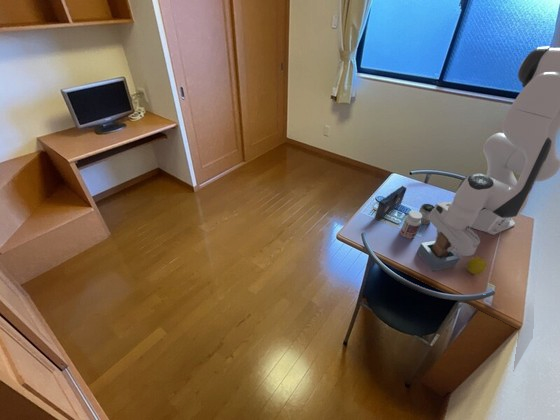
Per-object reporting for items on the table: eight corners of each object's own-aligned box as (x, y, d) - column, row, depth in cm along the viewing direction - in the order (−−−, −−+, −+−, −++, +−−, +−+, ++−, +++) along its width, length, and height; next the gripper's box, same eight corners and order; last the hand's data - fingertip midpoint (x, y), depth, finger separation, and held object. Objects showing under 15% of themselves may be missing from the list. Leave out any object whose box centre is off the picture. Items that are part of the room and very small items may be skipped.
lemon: (462, 264, 110) (472, 251, 105) (478, 269, 109) (489, 255, 103) (463, 275, 106) (473, 262, 101) (480, 280, 105) (491, 267, 99)
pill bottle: (418, 235, 122) (427, 215, 115) (408, 240, 120) (417, 221, 112) (406, 226, 126) (414, 207, 119) (397, 232, 123) (404, 212, 116)
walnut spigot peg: (439, 248, 112) (449, 230, 105) (446, 255, 109) (457, 238, 102) (430, 250, 111) (440, 232, 104) (437, 257, 108) (447, 239, 101)
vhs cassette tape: (396, 201, 139) (402, 185, 133) (401, 204, 138) (408, 188, 131) (373, 217, 131) (378, 200, 124) (378, 221, 129) (384, 204, 122)
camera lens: (433, 223, 128) (440, 210, 123) (421, 225, 127) (427, 212, 121) (425, 214, 132) (431, 201, 127) (413, 216, 131) (418, 203, 126)
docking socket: (438, 247, 117) (443, 238, 114) (455, 266, 110) (460, 257, 106) (417, 251, 115) (421, 243, 112) (432, 271, 108) (437, 262, 105)
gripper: (490, 237, 91) (470, 264, 100) (447, 198, 106) (433, 225, 115) (473, 241, 90) (455, 268, 99) (432, 201, 105) (420, 227, 114)
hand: (443, 244), depth 107 cm, fingers closed on walnut spigot peg, 4 cm apart
